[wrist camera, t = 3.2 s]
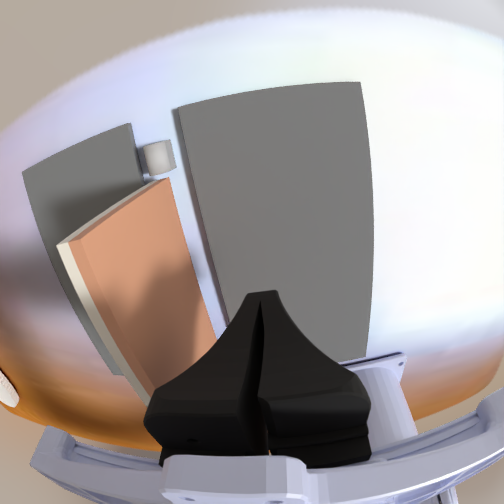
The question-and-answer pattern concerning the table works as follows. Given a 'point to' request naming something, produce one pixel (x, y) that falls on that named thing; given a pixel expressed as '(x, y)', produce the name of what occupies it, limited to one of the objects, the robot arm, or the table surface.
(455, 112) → the table surface
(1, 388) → the plastic lid
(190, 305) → the flap
